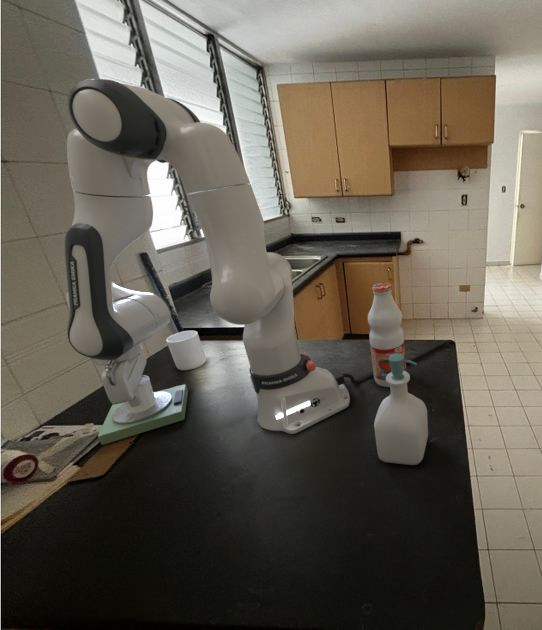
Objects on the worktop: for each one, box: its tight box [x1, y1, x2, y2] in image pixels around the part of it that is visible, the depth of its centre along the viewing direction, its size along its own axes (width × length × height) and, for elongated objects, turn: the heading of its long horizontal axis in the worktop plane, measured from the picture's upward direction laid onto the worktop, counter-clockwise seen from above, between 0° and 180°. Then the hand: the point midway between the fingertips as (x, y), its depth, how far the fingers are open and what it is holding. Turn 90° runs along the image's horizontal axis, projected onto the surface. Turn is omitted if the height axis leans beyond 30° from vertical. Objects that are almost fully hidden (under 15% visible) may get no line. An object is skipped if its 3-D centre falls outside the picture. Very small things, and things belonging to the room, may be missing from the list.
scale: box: [97, 383, 189, 446], centre depth 85 cm, size 16×14×3 cm
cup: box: [165, 330, 207, 371], centre depth 107 cm, size 8×12×10 cm
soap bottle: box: [373, 354, 429, 466], centre depth 66 cm, size 10×10×23 cm
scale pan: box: [112, 390, 172, 424], centre depth 84 cm, size 12×12×1 cm
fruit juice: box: [367, 282, 408, 388], centre depth 90 cm, size 9×9×28 cm
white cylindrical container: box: [123, 374, 156, 413], centre depth 82 cm, size 7×7×7 cm
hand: (139, 398), depth 83 cm, fingers open, 5 cm apart
